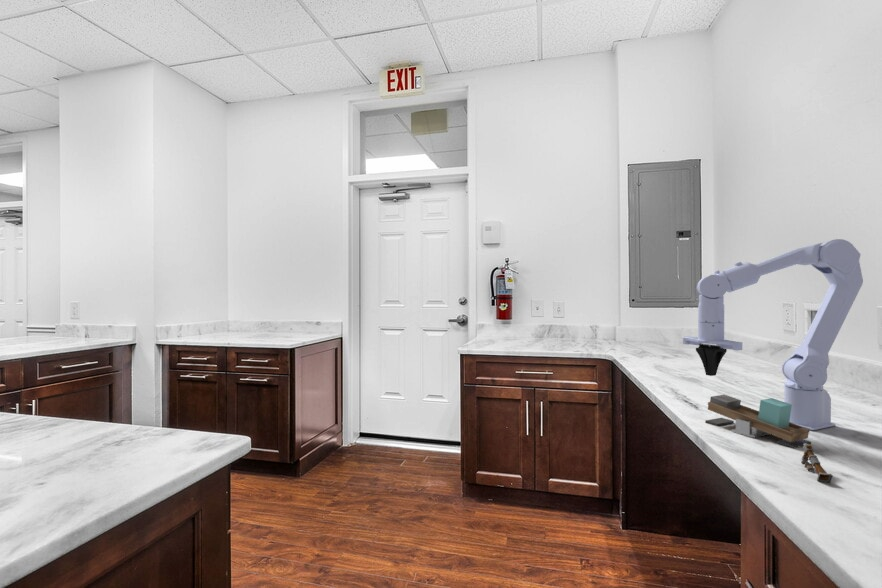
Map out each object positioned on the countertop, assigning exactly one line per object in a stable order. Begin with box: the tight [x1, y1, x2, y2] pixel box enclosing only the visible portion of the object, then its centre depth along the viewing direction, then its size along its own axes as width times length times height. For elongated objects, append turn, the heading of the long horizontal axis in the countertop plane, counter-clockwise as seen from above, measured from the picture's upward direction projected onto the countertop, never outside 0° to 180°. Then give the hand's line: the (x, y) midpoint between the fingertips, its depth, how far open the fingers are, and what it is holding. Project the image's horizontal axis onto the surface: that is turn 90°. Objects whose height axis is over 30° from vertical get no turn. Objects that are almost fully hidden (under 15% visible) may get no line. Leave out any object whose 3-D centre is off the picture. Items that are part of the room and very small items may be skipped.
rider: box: [758, 397, 792, 428], centre depth 96 cm, size 4×4×5 cm
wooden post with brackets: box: [800, 443, 834, 483], centre depth 78 cm, size 2×8×4 cm, turn 162°
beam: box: [707, 394, 811, 442], centre depth 100 cm, size 6×18×4 cm, turn 24°
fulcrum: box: [705, 417, 812, 449], centre depth 100 cm, size 8×19×3 cm, turn 24°
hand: (710, 375), depth 113 cm, fingers closed
